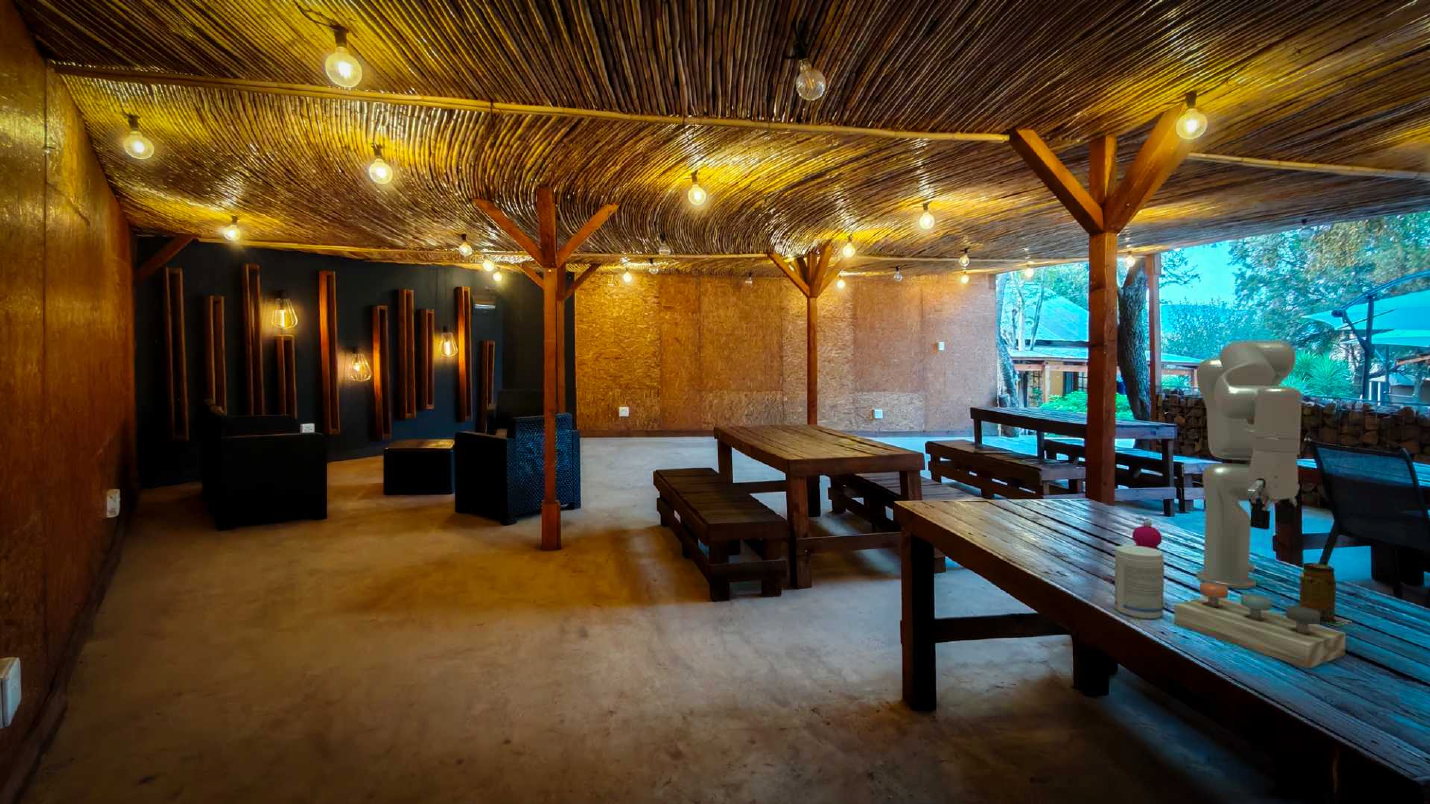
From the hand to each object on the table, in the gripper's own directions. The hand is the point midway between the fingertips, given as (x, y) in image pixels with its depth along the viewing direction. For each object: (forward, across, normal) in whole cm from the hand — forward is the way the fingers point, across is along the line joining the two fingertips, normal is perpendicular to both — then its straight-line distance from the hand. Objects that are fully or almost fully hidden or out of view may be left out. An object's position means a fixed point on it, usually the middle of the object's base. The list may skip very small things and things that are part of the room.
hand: (1272, 526), depth 140 cm
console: (+23, +6, 0) cm, 24 cm away
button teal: (+20, +6, 0) cm, 20 cm away
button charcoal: (+20, +6, +8) cm, 22 cm away
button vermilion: (+20, +6, -8) cm, 22 cm away
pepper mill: (+24, +4, -24) cm, 34 cm away
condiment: (+24, -21, 0) cm, 32 cm away
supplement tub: (+24, +13, -20) cm, 33 cm away
